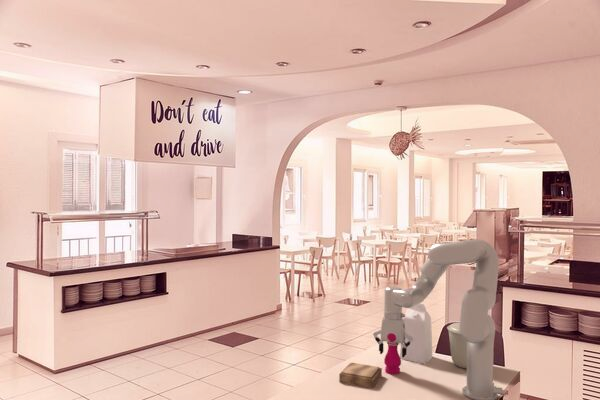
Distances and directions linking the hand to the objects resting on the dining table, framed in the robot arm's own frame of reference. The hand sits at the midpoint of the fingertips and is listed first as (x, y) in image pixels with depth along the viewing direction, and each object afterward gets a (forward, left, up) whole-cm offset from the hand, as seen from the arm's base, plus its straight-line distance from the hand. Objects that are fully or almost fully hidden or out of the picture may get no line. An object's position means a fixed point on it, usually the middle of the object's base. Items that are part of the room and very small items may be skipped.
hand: (392, 354), depth 203 cm
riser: (+10, +14, -7) cm, 19 cm away
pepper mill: (0, 0, -8) cm, 8 cm away
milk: (-6, -23, -8) cm, 25 cm away
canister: (-29, -23, -8) cm, 38 cm away
